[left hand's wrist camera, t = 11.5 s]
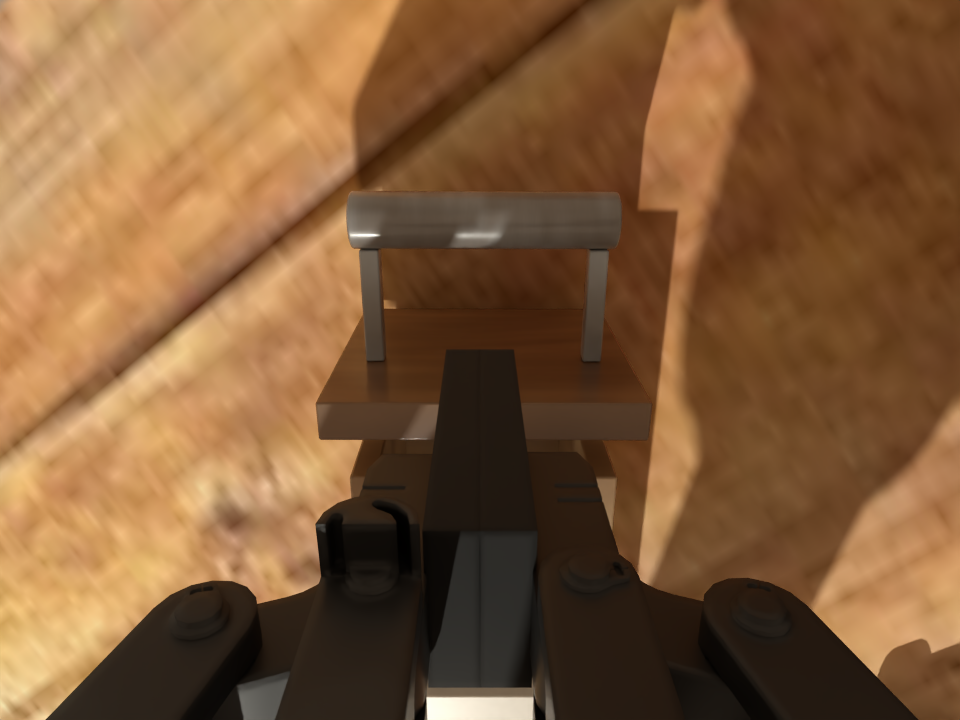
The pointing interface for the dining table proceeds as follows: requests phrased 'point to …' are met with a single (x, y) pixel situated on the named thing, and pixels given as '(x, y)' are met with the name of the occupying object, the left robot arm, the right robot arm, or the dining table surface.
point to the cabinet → (480, 703)
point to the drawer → (485, 330)
